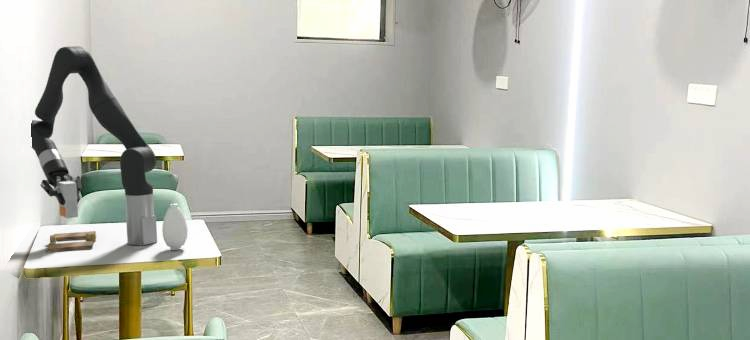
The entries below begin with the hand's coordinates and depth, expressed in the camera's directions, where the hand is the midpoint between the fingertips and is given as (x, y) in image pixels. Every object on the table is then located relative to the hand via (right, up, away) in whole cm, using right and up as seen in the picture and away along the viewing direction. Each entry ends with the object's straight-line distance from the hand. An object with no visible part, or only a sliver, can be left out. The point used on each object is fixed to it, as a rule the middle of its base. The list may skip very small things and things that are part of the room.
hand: (70, 202), depth 254 cm
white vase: (+38, -16, -8) cm, 42 cm away
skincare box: (-1, -5, +2) cm, 6 cm away
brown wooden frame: (0, -14, +3) cm, 14 cm away
